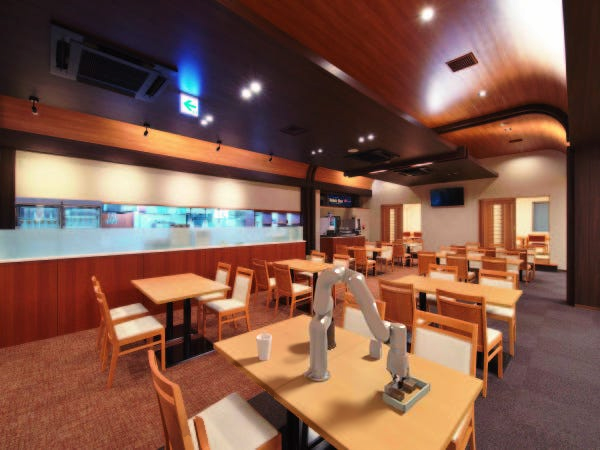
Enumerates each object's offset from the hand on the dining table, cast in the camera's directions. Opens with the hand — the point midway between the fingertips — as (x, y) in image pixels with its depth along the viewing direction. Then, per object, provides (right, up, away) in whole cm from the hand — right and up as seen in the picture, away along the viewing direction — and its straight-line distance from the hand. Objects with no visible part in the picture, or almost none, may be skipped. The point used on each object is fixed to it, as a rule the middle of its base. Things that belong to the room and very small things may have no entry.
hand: (397, 386), depth 133 cm
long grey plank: (0, -1, 0) cm, 1 cm away
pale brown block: (-1, -2, +35) cm, 35 cm away
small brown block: (+7, -2, +2) cm, 8 cm away
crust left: (-2, -2, -6) cm, 7 cm away
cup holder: (-33, -2, +49) cm, 59 cm away
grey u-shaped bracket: (+3, -3, -4) cm, 6 cm away
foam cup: (-70, -2, +32) cm, 77 cm away
